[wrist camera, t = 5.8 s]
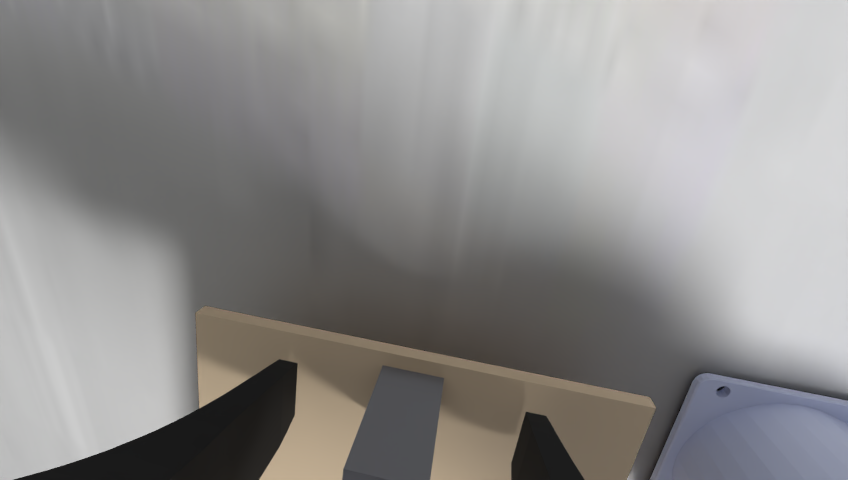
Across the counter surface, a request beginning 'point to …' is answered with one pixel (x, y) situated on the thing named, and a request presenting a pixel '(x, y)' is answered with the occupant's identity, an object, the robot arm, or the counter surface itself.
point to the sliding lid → (411, 406)
